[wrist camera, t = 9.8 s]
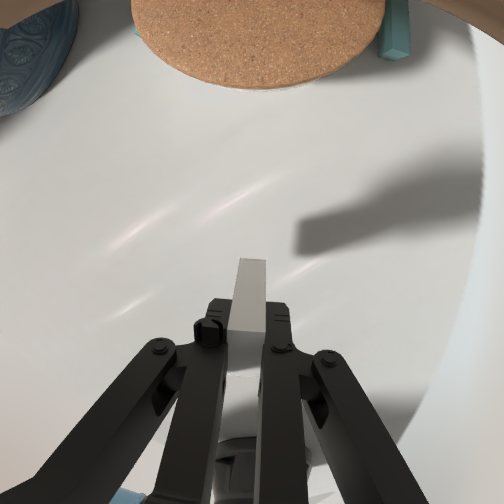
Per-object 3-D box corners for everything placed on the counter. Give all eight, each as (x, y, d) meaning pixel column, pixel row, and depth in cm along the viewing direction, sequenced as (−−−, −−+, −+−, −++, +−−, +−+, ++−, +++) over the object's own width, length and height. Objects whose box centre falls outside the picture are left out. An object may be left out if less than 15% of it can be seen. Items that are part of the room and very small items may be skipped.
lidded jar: (251, -51, 11) (240, -130, 2) (374, 33, 14) (445, -17, 5) (147, 47, 15) (66, 8, 6) (270, 137, 17) (273, 146, 9)
